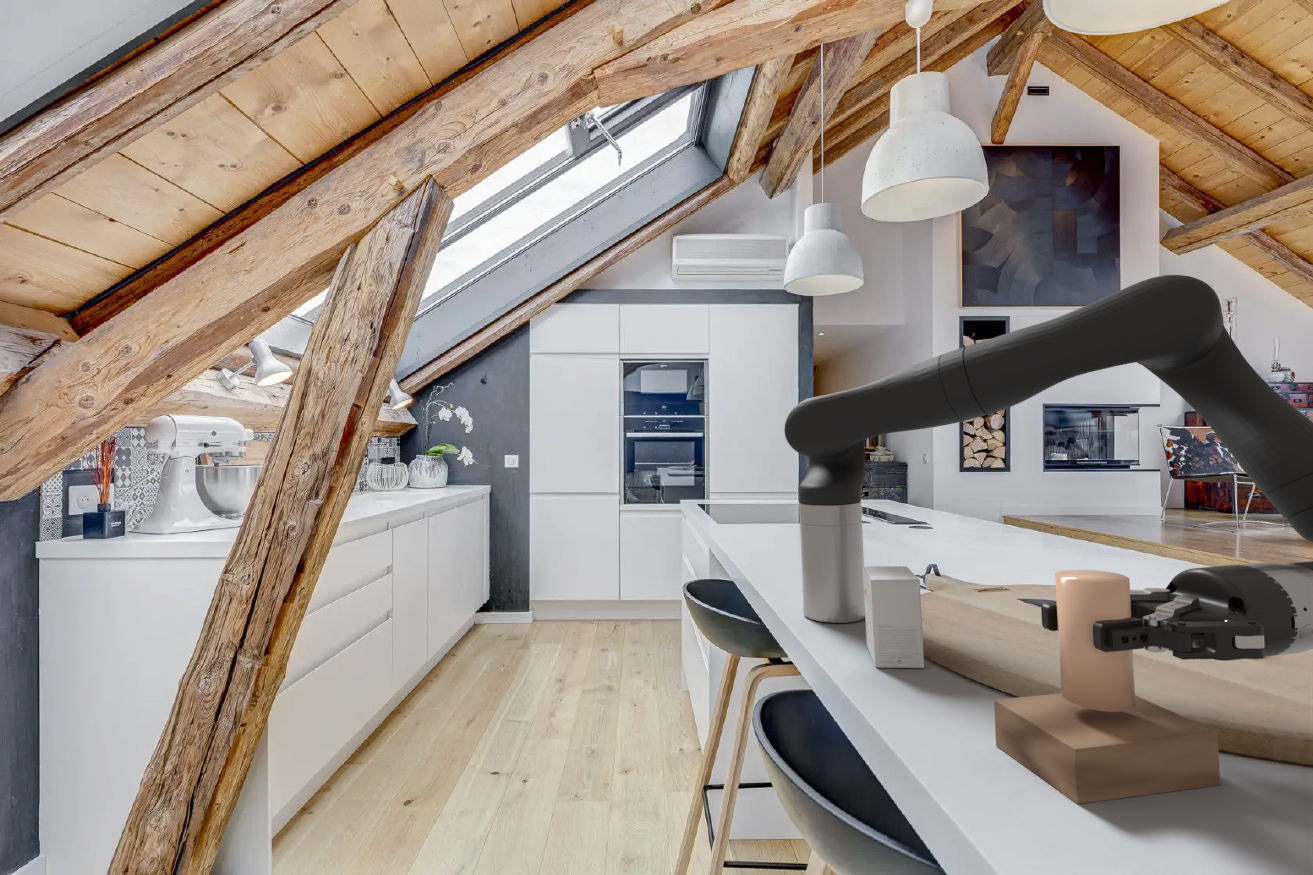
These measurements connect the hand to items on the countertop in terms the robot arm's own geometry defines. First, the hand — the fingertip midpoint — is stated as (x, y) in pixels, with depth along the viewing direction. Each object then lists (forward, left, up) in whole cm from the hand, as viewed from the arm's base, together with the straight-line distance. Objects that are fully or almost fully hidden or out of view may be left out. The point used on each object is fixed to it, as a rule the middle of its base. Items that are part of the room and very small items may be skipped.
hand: (1070, 626), depth 52 cm
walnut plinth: (0, +2, -11) cm, 12 cm away
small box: (-27, -1, -12) cm, 29 cm away
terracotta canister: (0, +2, -6) cm, 6 cm away
